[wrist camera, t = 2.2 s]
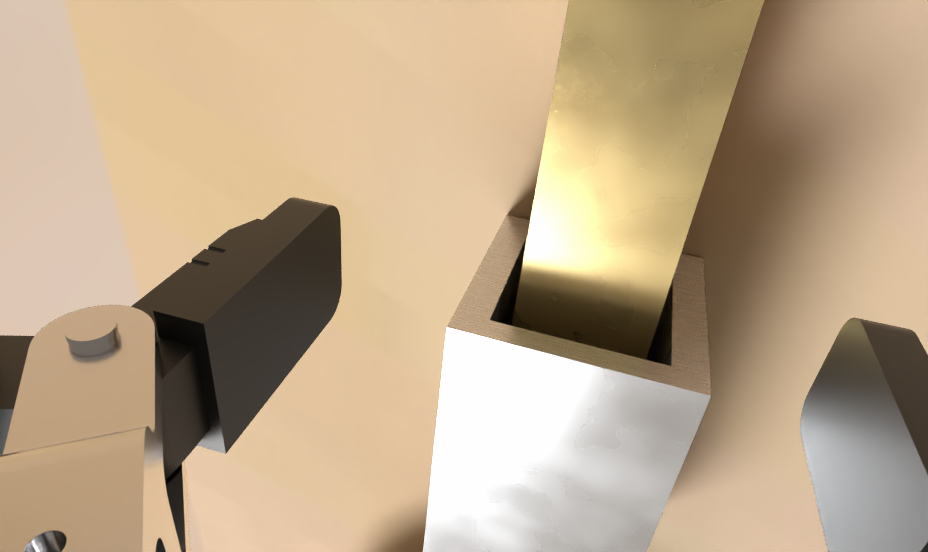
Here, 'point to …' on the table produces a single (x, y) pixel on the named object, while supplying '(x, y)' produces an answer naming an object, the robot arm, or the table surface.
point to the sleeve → (560, 421)
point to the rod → (626, 162)
